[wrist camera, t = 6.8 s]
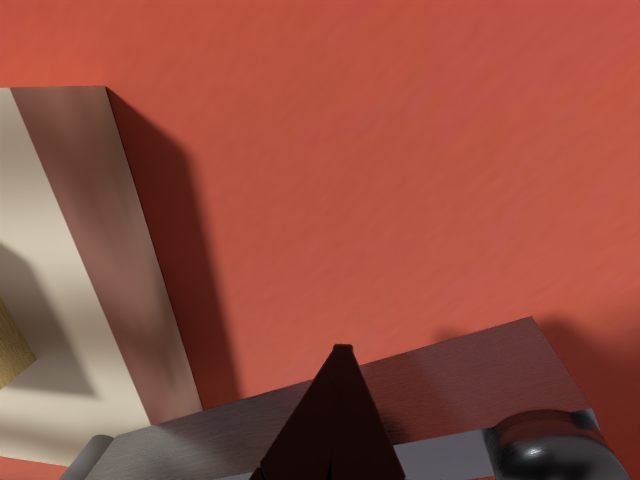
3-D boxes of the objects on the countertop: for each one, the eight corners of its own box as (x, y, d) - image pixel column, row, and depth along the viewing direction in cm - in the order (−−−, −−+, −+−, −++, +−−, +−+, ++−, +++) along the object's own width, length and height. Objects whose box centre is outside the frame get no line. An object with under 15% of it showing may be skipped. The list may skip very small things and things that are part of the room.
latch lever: (145, 461, 14) (82, 564, 11) (112, 431, 13) (36, 532, 10) (550, 365, 8) (643, 516, 6) (528, 308, 8) (620, 444, 5)
